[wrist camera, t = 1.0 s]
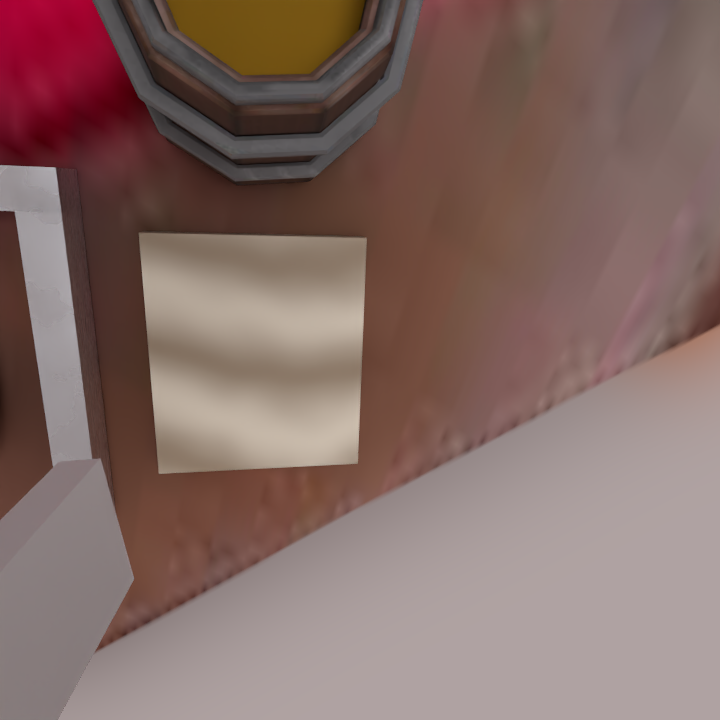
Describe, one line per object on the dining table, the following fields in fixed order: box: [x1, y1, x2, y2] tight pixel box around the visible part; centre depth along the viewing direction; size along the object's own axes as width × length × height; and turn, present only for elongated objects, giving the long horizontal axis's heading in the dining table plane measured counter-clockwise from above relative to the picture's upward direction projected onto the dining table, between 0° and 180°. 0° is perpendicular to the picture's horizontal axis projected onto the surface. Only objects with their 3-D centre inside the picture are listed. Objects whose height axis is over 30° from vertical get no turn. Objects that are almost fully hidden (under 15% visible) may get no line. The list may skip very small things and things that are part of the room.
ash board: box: [139, 231, 367, 474], centre depth 32 cm, size 14×12×1 cm
